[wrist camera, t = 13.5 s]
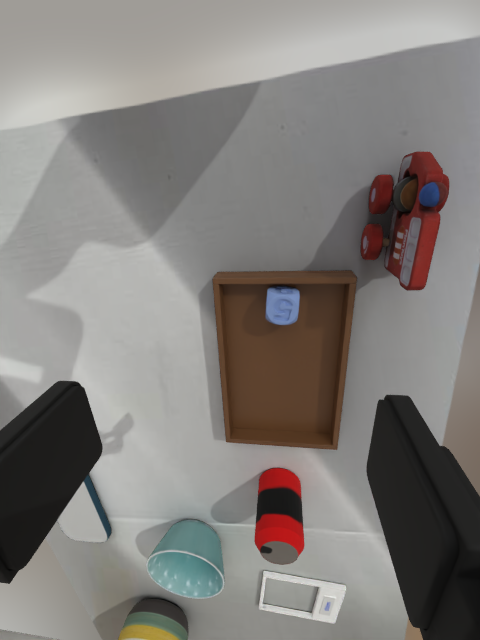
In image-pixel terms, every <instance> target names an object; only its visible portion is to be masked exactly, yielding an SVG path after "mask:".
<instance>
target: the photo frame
mask: <svg viewBox="0 0 480 640" xmlns="http://www.w3.org/2000/svg"><path fill="white" fill-rule="evenodd" d="M266 578H271V579H277V580H283V581H288V582H294V583H299V584H305V585H310V586H316V587H319V589H318V592H317V596H316V600H315V603H314V607H313V611H312V613H310V612H304V611H299V610H294V609H288V608H283V607H278V606H272V605H267V604H263V597H264V590H265V582H266ZM345 593H346V585H342V584H337V583H331V582H325V581H320V580H314V579H308V578H303V577H297V576H291V575H286V574H280V573H275V572H269V571H264V572H263V579H262V587H261V594H260V602H259V609H260V610H266V611H271V612H276V613H281V614H287V615H292V616H297V617H302V618H307V619H313V620H318V621H323V622H328V623H334V624H335V621H336V618H337V615H338V613H339V610H340V607H341V604H342V601H343V598H344V595H345Z"/></svg>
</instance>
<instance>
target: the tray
mask: <svg viewBox="0 0 480 640" xmlns="http://www.w3.org/2000/svg"><path fill="white" fill-rule="evenodd" d="M356 283H357V277H356V276H355V274H354V273H353V272H352V271H263V272H217V274H216V275H215V276H214V277H213V290H214V302H215V314H216V326H217V338H218V350H219V362H220V374H221V387H222V399H223V411H224V423H225V435H226V442H231V443H245V444H260V445H274V446H289V447H303V448H318V449H332V450H337V447H338V438H339V430H340V421H341V412H342V404H343V395H344V386H345V378H346V369H347V361H348V352H349V343H350V335H351V326H352V317H353V309H354V300H355V291H356ZM273 286H290V287H293V288H296V289H298V291H299V294H300V298H299V312H298V319H297V321H296V322H294V323H293V324H289V325H277V324H273V323H271V322H269V321H268V320H267V319H266V301H267V290H268V289H269V288H270V287H273Z"/></svg>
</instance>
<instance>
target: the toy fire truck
mask: <svg viewBox="0 0 480 640" xmlns="http://www.w3.org/2000/svg"><path fill="white" fill-rule="evenodd" d="M393 186H394V183H393V178H392V176H391V175H378V176H376V177H375V179H374V180H373V183H372V186H371V190H370V195H369V211H370V212H371V213H372V214H384V213H385V212H386V211H387V210H388V208H389V206H390V203H391V201H392V202H393V205H394V207H393V214H392V220H391V226H390V232H389V235H388V238H383V229H382V226H381V225H380V224H368V225H367V226H366V227H365V228H364V230H363V234H362V239H361V256H362V258H363V259H365V260H375V259H377V258H378V257H379V255H380V253H381V250H382V247H386V255H385V268H386V269H387V270H388V271H389V272H390V273H392V274H393V275H394V276H395V277H397V278H398V279H399V281H400V285H401V286H402V287H403V288H404V289H406V290H422V289H423V288H424V287H425V285H426V282H427V277H428V273H429V269H430V264H431V260H432V255H433V251H434V246H435V242H436V238H437V234H438V229H439V225H440V214H439V213H438V212H439V211H440V210H441V209H442V208H443V206H444V205H445V203H446V200H447V198H448V194H449V179H448V177H447V176H446V175H445V174H443V170H442V168H441V167H440V165H439V164H438V162H437V161H436V159H435V158H434V156H433V155H432V153H430V152H414V153H411V154H408V155H406V156H405V157H404V158H403V160H402V163H401V167H400V173H399V179H398V184H397V185H396V186H395V188H394V189H393Z"/></svg>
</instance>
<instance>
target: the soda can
mask: <svg viewBox="0 0 480 640" xmlns="http://www.w3.org/2000/svg"><path fill="white" fill-rule="evenodd" d="M255 544H256V546H257V548H258V549H259V551H260V553H261V555H262V557H263V558H264V559H266V560H267V561H269V562H271V563H275V564H281V565H284V564H290V563H293V562H294V561H296V560H297V558H298V556H299V555H300V553H301V552H302V551H303V549H304V533H303V517H302V501H301V485H300V480H299V478H298V477H297V476H296V475H295V474H294V473H293V472H291V471H289V470H287V469H283V468H272V469H269V470H267V471H265V472H264V473H263V474H262V475H261V476H260V479H259V491H258V503H257V516H256V528H255Z"/></svg>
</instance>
